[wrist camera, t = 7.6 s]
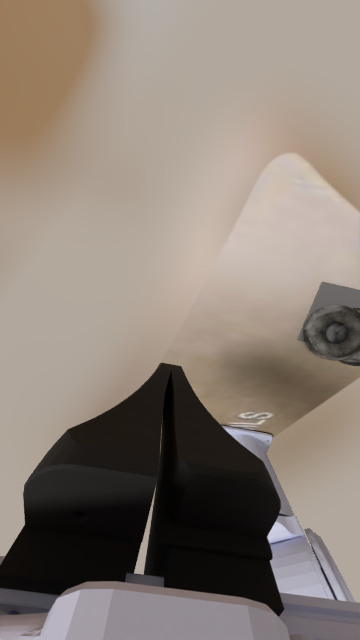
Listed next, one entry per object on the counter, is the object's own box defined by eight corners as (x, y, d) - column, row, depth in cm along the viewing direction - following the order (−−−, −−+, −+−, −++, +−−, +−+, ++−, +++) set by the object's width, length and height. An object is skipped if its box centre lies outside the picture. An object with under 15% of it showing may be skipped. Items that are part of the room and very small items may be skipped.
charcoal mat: (350, 350, 21) (353, 351, 21) (297, 339, 21) (299, 340, 21) (380, 294, 19) (383, 295, 19) (321, 282, 19) (324, 282, 19)
